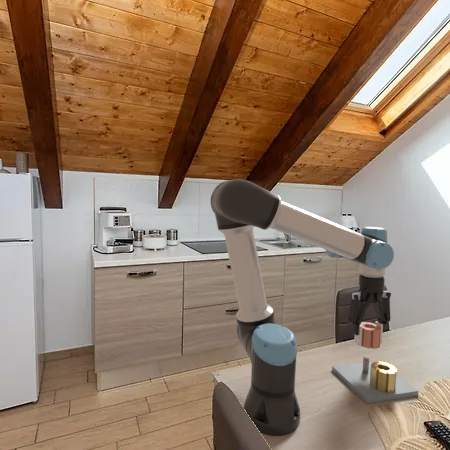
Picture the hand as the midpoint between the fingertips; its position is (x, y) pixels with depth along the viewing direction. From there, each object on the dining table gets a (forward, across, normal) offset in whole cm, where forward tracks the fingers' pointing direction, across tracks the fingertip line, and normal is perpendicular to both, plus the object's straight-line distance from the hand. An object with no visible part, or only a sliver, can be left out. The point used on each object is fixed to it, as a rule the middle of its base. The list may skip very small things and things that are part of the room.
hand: (367, 342), depth 106 cm
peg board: (+12, 0, -4) cm, 12 cm away
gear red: (0, 0, 0) cm, 0 cm away
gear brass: (+10, 0, -8) cm, 13 cm away
